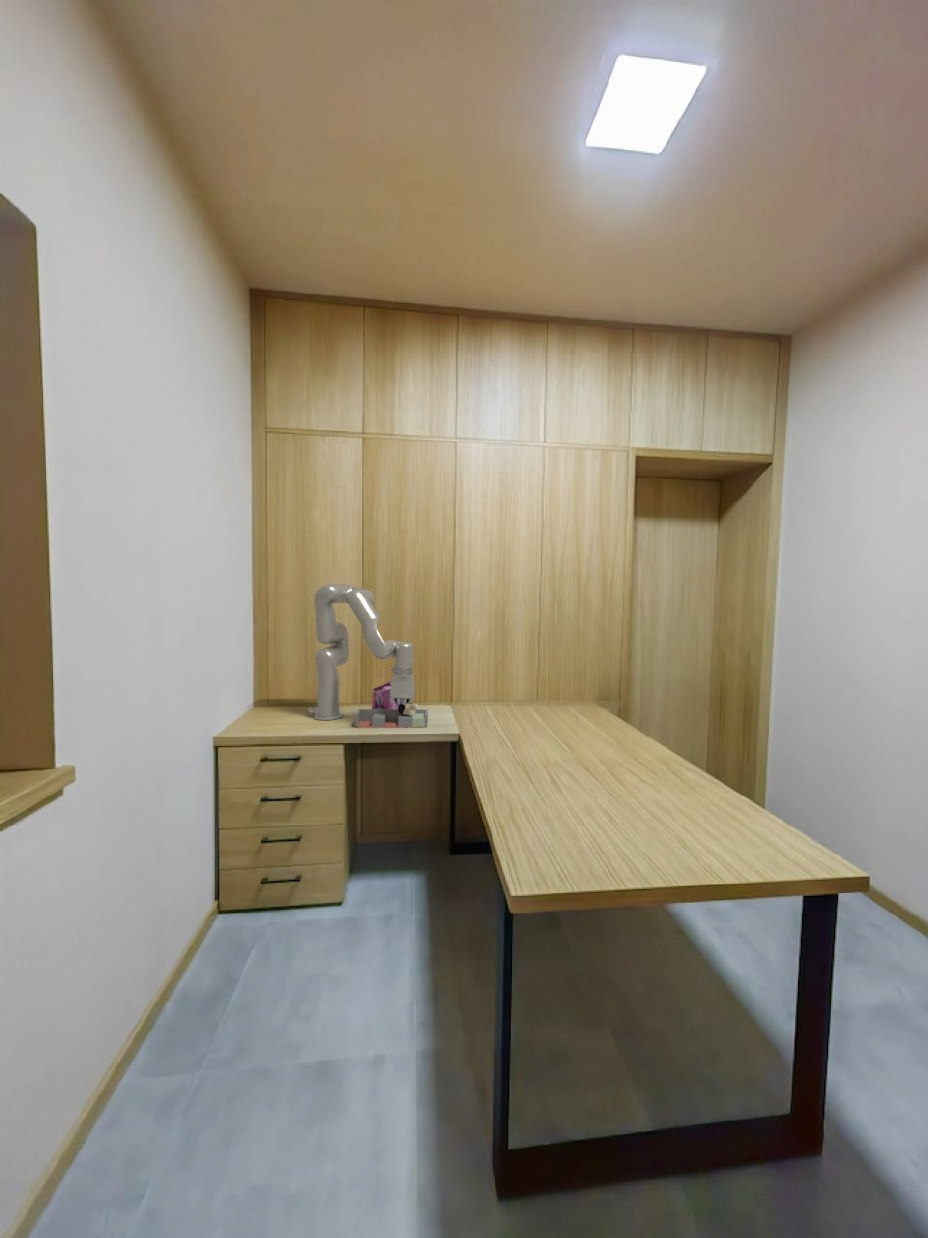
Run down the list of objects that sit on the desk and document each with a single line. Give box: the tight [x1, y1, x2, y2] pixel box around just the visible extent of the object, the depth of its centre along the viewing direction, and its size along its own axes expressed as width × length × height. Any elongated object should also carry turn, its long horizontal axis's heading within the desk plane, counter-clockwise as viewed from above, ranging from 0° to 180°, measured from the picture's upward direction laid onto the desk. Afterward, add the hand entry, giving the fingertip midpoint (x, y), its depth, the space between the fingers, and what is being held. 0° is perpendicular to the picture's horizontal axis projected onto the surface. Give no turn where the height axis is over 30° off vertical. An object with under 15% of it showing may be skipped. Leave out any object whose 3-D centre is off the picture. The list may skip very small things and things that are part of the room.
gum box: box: [371, 680, 407, 709], centre depth 227 cm, size 24×8×14 cm, turn 164°
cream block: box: [403, 701, 418, 717], centre depth 210 cm, size 4×4×4 cm
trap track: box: [354, 708, 429, 729], centre depth 210 cm, size 30×9×6 cm, turn 92°
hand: (401, 713), depth 210 cm, fingers closed
